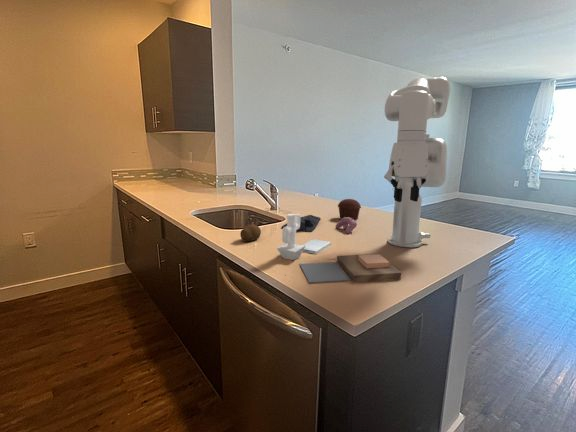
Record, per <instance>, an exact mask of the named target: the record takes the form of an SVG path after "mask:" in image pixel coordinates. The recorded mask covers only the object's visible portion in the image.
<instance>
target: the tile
mask: <svg viewBox="0 0 576 432" xmlns="http://www.w3.org/2000/svg"><path fill="white" fill-rule="evenodd" d="M374 254H375V255H364V254H357V255H358V260H359V261H360V262H361V263H362V264H363V265H364V266H365V267H366V268H381V267H389V263H390V261H389V260H388V259H386V258H385V257H383V256H382V255H381V254H378V253H374Z"/></svg>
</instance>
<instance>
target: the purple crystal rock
mask: <svg viewBox="0 0 576 432" xmlns="http://www.w3.org/2000/svg"><path fill="white" fill-rule="evenodd" d="M357 225H358V224H357V221H356V220H354V219H352V218H350V217H344V218H342V219H340V220H339V222H337V223H336V225H335V229H337V230H338V229H341V228H342V229H344V231H345V234H350V233H352V232H353V230H355V228H356V227H358V226H357Z"/></svg>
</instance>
